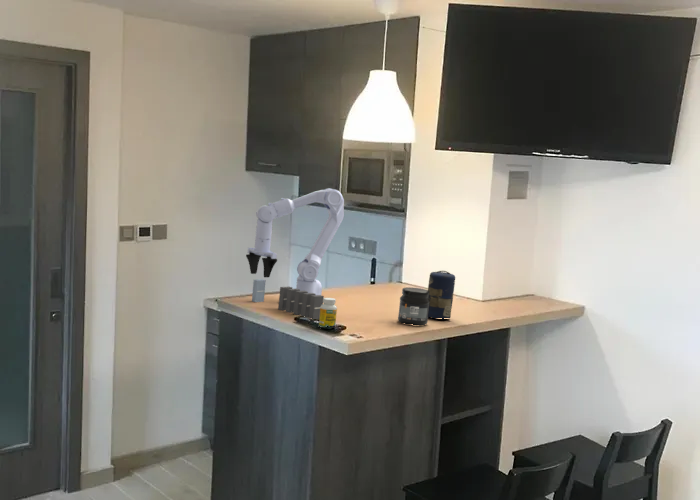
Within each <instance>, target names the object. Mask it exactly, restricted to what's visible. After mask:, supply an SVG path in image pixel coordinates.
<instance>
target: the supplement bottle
mask: <svg viewBox="0 0 700 500" xmlns="http://www.w3.org/2000/svg"><path fill="white" fill-rule="evenodd" d="M336 302H337V301H336V298H333V297H324V298H323V304H322V305H321V307H320V318H319V319H318V320H319V321H318V327H319V326H320V327H327V326H333V325H335V326H336V322H337V313H338V312H337V311H338V307H337V306H336V305H335V304H336Z"/></svg>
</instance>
